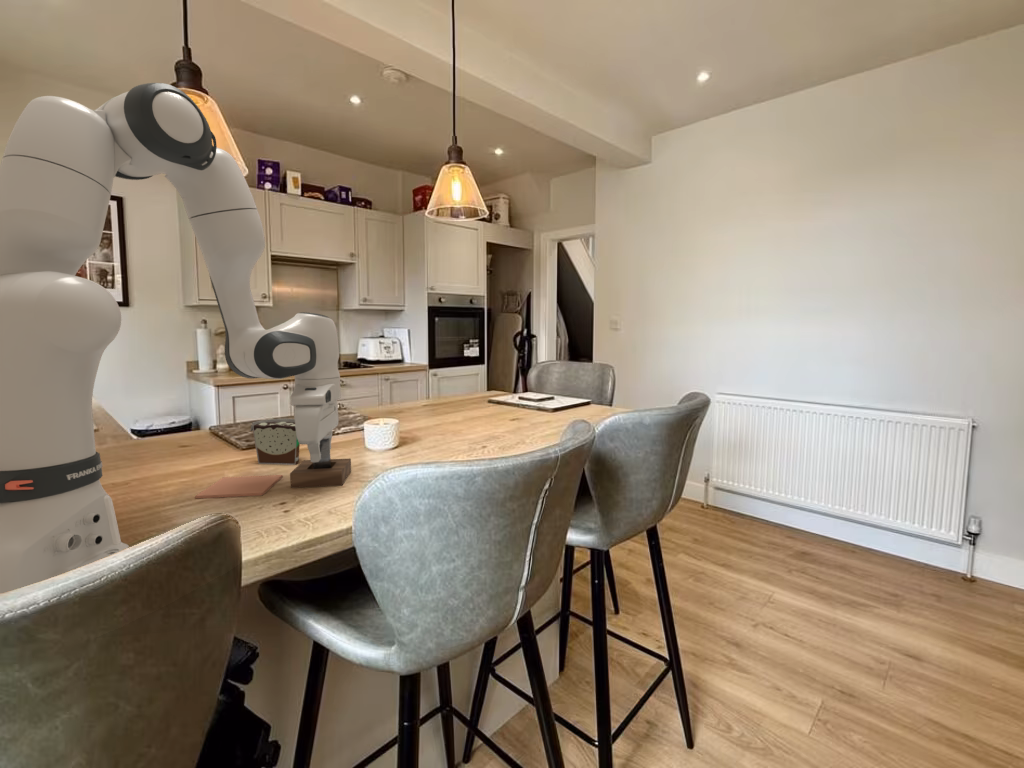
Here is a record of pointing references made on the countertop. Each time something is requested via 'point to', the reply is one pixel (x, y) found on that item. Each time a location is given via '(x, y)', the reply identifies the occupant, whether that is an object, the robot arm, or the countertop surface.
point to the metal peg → (324, 453)
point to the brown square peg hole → (320, 474)
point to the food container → (276, 441)
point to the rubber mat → (240, 486)
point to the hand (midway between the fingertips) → (321, 455)
